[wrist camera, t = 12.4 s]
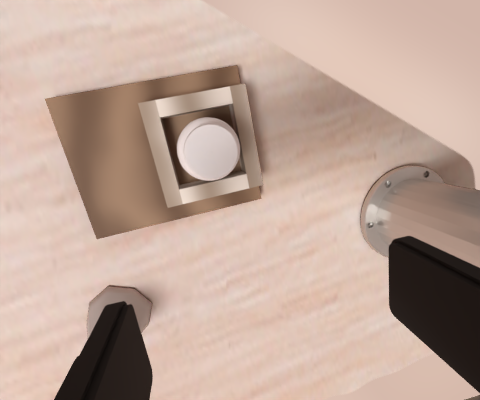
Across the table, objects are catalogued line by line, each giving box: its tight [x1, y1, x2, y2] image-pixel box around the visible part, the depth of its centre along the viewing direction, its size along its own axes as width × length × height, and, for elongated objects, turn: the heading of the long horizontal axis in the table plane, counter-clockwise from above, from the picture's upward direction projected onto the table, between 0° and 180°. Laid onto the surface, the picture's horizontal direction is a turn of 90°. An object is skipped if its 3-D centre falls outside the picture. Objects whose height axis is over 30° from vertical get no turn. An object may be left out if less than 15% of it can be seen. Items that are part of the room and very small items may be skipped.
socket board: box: [45, 65, 263, 239], centre depth 27 cm, size 18×14×4 cm
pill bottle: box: [177, 117, 240, 181], centre depth 24 cm, size 5×5×9 cm
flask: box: [87, 286, 152, 338], centre depth 28 cm, size 7×7×10 cm
